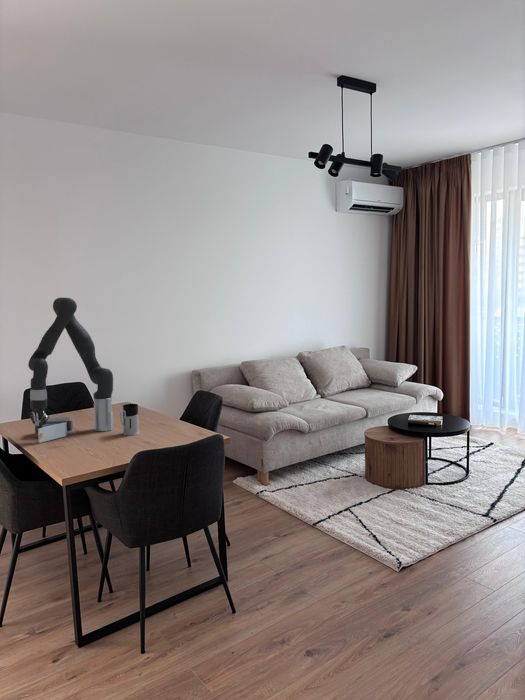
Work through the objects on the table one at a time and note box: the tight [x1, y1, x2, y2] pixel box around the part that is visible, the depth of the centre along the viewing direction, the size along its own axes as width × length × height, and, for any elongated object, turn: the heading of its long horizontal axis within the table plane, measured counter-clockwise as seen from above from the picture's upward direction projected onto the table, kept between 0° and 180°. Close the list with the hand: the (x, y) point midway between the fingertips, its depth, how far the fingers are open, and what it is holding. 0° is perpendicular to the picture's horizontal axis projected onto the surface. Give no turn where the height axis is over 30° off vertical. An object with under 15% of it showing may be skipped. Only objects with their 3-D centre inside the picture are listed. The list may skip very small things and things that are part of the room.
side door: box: [37, 422, 68, 443], centre depth 271 cm, size 16×2×7 cm, turn 147°
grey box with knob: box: [34, 416, 74, 438], centre depth 283 cm, size 17×10×9 cm, turn 96°
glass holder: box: [119, 403, 140, 437], centre depth 281 cm, size 9×14×15 cm, turn 164°
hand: (39, 433), depth 268 cm, fingers closed
